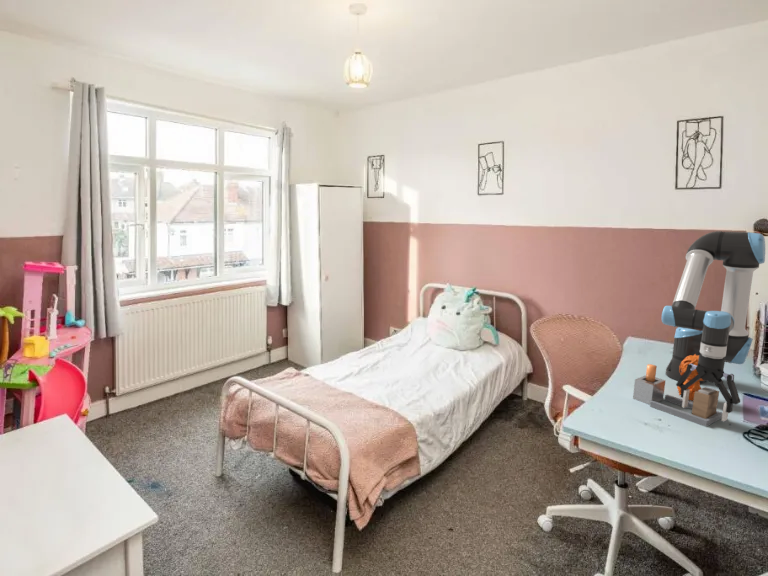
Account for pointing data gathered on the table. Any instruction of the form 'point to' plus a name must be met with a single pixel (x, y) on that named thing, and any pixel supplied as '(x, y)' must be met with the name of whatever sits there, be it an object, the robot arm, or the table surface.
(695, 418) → the guide channel
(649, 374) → the orange rounded peg
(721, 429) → the table surface
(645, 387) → the grey block with hole
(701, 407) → the carriage
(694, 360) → the orange figurine
